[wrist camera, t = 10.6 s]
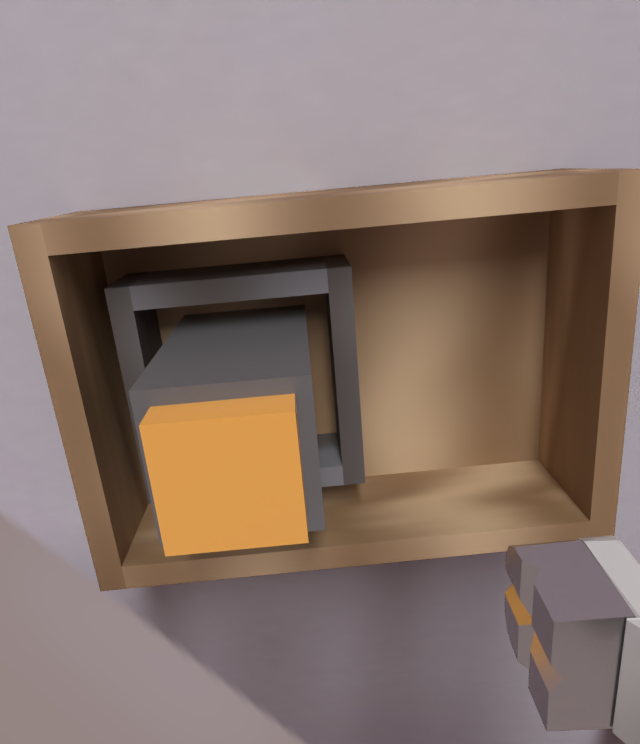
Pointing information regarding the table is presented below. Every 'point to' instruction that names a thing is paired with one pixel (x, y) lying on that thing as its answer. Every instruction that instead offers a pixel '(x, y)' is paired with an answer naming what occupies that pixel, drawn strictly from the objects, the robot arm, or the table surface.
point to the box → (364, 357)
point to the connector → (231, 432)
